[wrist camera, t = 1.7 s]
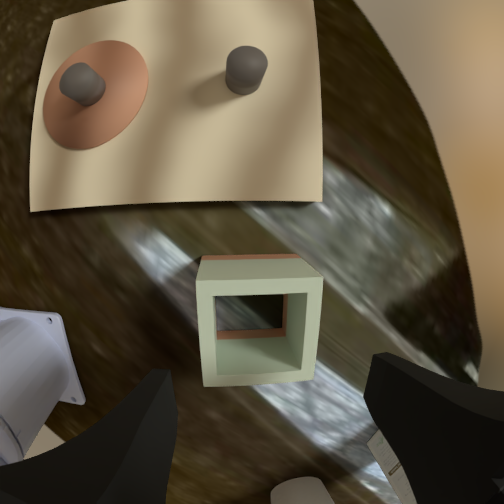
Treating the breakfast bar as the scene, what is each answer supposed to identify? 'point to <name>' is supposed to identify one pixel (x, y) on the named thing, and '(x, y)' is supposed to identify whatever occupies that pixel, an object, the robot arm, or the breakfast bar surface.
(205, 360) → the sleeve
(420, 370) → the robot arm
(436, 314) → the breakfast bar surface
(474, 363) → the breakfast bar surface
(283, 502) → the dixie cup
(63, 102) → the pin board
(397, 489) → the syrup box
